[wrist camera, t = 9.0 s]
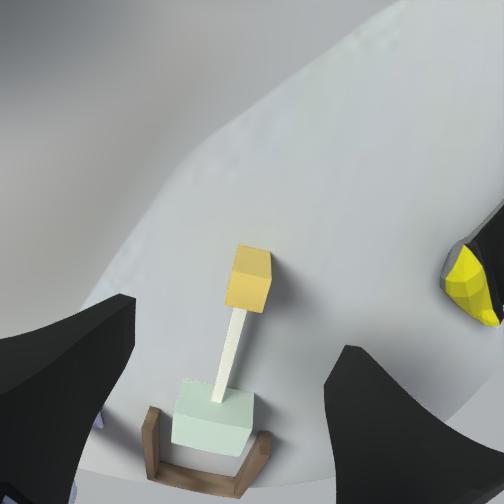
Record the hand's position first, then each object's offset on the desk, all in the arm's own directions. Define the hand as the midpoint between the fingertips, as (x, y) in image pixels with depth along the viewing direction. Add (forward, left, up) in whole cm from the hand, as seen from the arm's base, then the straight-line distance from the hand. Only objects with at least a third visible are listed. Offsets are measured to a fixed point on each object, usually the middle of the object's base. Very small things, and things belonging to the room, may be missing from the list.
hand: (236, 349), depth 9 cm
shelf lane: (0, -25, -9) cm, 27 cm away
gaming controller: (+19, +6, -10) cm, 22 cm away
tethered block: (0, -8, -9) cm, 13 cm away
